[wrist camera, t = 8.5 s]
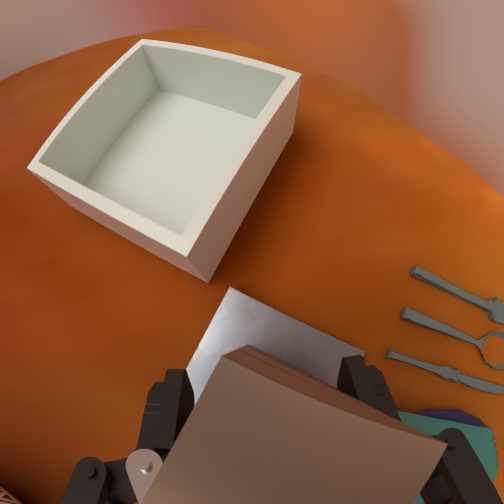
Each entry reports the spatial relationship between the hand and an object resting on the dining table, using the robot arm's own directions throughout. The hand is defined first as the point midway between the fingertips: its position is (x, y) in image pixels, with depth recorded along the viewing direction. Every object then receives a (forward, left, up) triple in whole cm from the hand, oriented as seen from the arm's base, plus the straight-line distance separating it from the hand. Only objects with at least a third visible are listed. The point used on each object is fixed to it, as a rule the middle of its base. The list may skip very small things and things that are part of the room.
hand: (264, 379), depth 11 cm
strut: (-1, -1, -7) cm, 8 cm away
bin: (+11, +13, -9) cm, 19 cm away
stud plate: (-1, -1, -9) cm, 9 cm away
